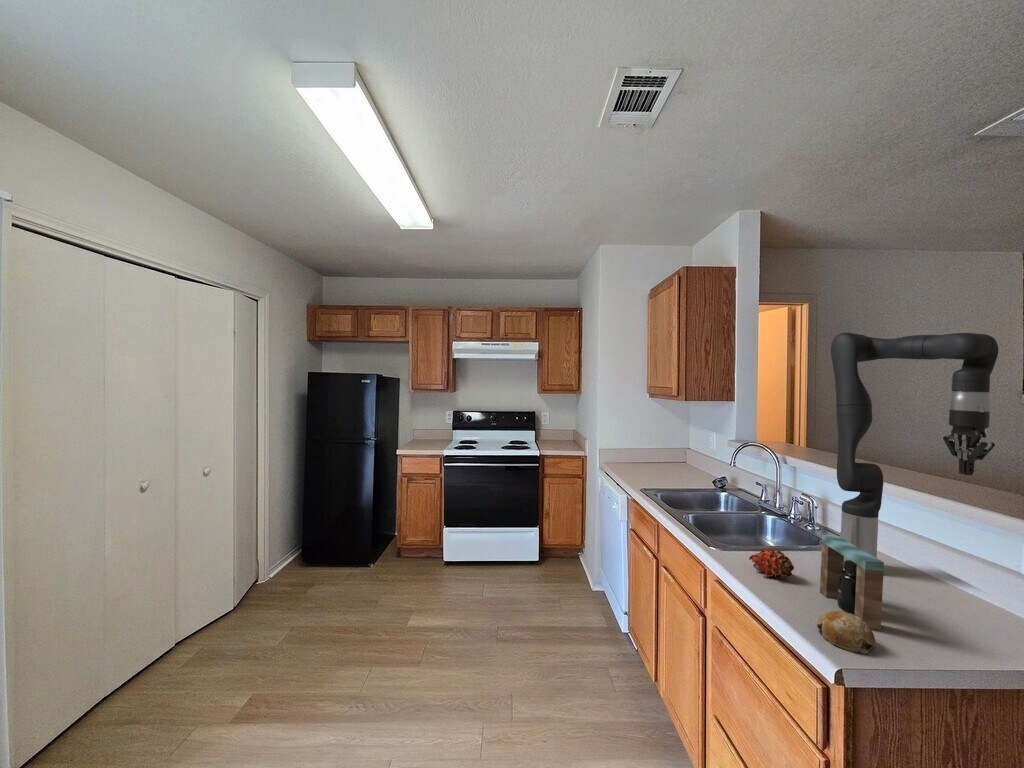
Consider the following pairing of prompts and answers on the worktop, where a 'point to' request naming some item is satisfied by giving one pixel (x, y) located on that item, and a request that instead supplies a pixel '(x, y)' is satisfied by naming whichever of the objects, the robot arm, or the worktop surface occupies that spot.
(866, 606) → the gate
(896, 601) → the worktop surface
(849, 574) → the supplement bottle
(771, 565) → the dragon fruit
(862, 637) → the bread roll
